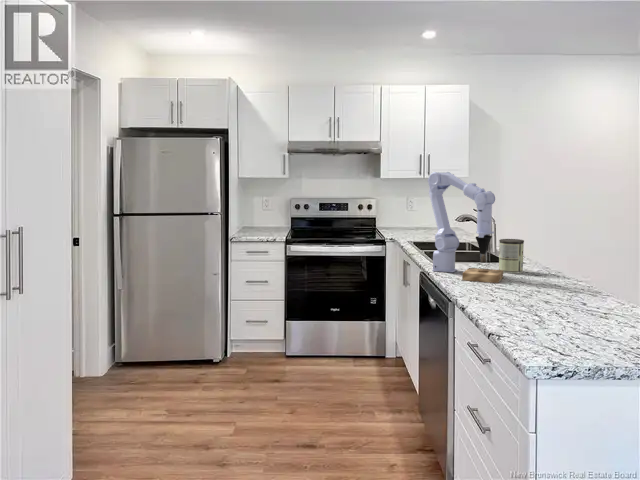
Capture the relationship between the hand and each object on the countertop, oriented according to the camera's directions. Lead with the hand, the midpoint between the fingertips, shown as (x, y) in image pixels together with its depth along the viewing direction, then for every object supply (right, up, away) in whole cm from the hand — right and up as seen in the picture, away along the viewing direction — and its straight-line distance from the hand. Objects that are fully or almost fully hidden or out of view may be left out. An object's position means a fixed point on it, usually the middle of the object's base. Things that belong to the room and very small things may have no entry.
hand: (483, 253), depth 232 cm
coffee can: (+16, -9, +15) cm, 23 cm away
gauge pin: (0, -4, 0) cm, 4 cm away
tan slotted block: (-1, -10, -3) cm, 11 cm away
